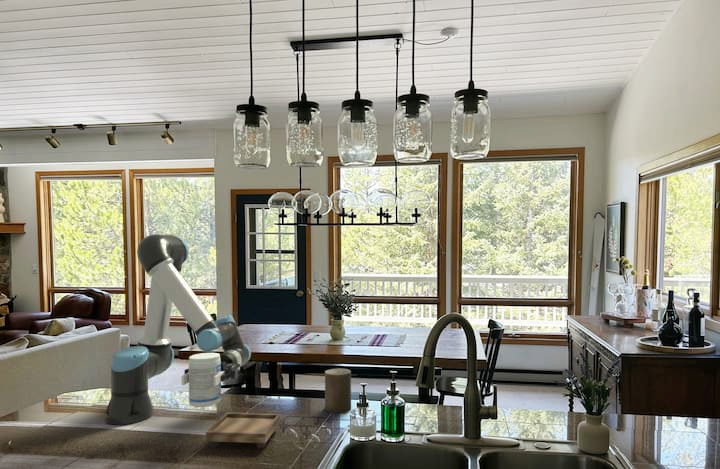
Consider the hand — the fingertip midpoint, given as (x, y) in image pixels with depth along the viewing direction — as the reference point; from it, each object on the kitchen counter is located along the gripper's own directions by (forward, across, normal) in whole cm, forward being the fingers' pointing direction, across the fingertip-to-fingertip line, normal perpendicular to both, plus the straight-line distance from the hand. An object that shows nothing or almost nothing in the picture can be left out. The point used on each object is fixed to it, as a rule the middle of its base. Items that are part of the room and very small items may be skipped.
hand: (198, 381), depth 138 cm
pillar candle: (-33, -38, -19) cm, 54 cm away
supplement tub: (-4, 0, -8) cm, 9 cm away
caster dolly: (-4, -13, -19) cm, 23 cm away
